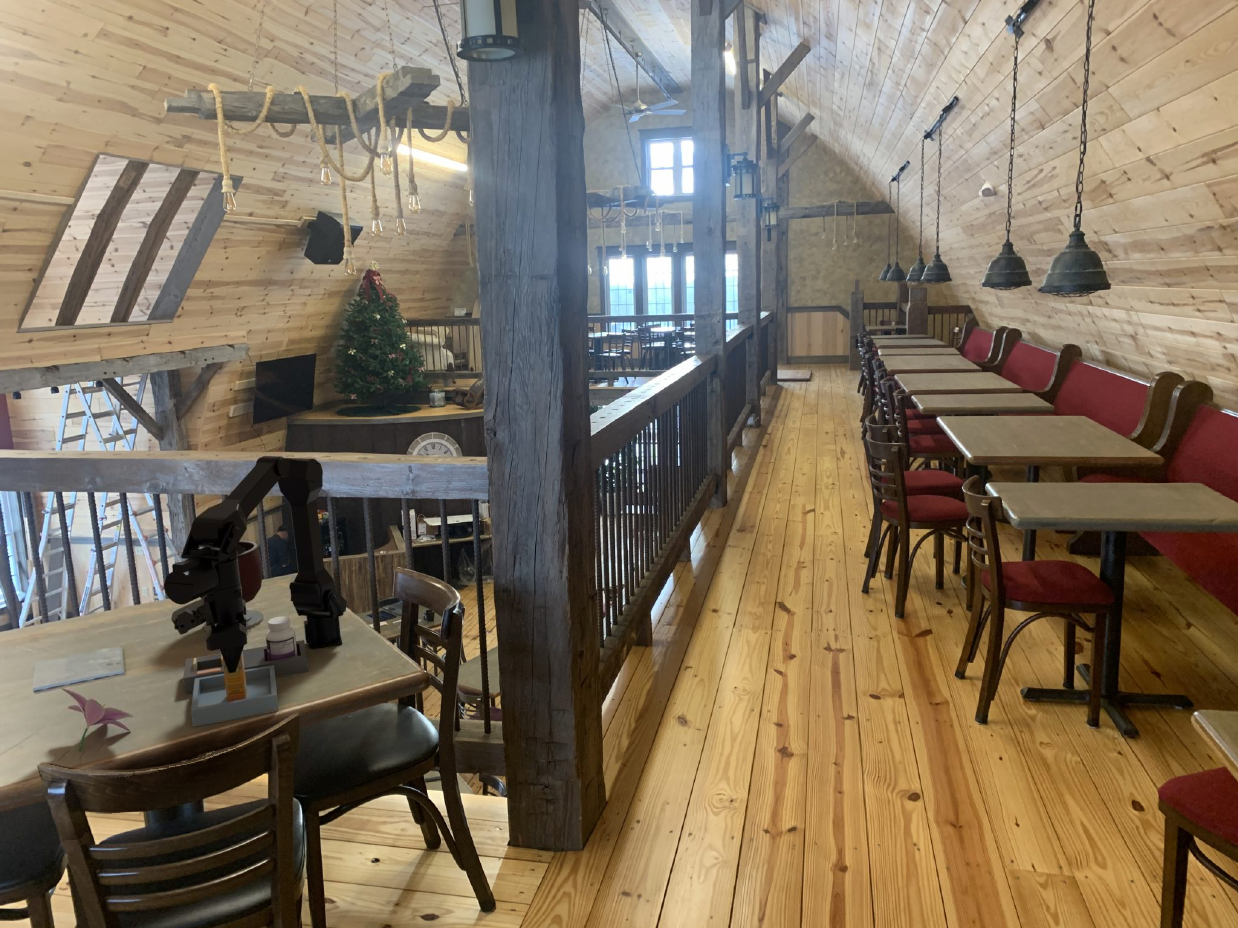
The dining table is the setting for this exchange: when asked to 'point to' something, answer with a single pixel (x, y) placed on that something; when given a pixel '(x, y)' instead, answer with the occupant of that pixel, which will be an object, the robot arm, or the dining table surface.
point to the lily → (97, 713)
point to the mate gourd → (248, 579)
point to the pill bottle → (280, 639)
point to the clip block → (251, 660)
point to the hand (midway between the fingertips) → (232, 667)
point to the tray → (216, 708)
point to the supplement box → (235, 682)
